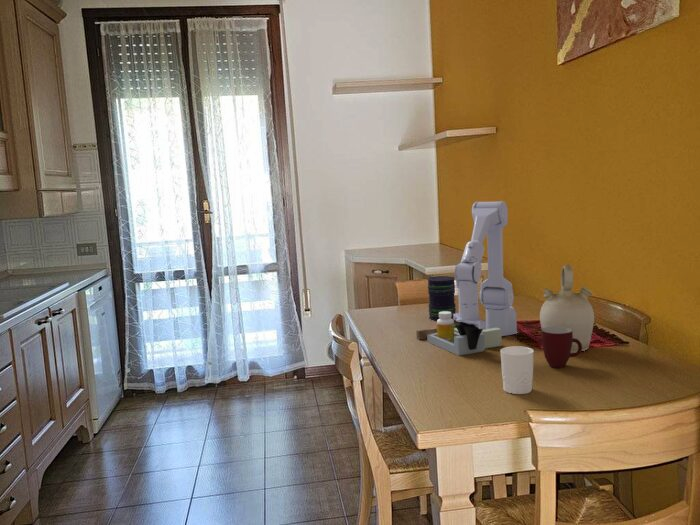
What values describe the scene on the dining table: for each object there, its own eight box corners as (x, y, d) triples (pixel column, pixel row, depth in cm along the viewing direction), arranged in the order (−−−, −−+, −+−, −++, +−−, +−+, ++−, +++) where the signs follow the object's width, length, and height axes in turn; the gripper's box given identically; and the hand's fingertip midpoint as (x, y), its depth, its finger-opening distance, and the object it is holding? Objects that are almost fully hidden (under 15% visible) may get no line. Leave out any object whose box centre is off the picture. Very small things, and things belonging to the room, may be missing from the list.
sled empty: (468, 333, 219) (467, 317, 218) (501, 345, 202) (501, 329, 201) (451, 335, 216) (451, 320, 216) (484, 348, 199) (484, 331, 199)
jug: (596, 343, 200) (596, 261, 196) (591, 356, 186) (591, 269, 182) (544, 339, 206) (543, 260, 203) (536, 353, 192) (535, 268, 189)
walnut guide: (465, 331, 222) (465, 322, 222) (503, 345, 202) (503, 336, 202) (416, 338, 215) (416, 330, 215) (451, 354, 195) (451, 345, 195)
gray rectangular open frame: (451, 337, 214) (451, 322, 213) (484, 351, 197) (484, 334, 196) (427, 341, 211) (426, 326, 210) (458, 355, 194) (458, 338, 193)
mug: (575, 360, 183) (575, 325, 182) (586, 368, 175) (586, 332, 174) (537, 362, 183) (537, 327, 182) (547, 371, 175) (546, 334, 174)
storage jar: (460, 316, 244) (459, 276, 242) (449, 322, 236) (448, 281, 234) (435, 314, 249) (434, 275, 247) (424, 320, 241) (422, 279, 239)
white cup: (496, 386, 165) (496, 347, 164) (527, 383, 166) (527, 345, 164) (507, 396, 157) (506, 355, 156) (539, 394, 158) (538, 353, 157)
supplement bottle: (454, 344, 206) (453, 314, 204) (436, 344, 207) (435, 314, 205) (455, 340, 211) (454, 310, 209) (438, 340, 212) (437, 310, 211)
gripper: (444, 300, 199) (445, 344, 201) (470, 308, 186) (471, 355, 188) (464, 297, 202) (465, 341, 204) (491, 305, 189) (492, 351, 190)
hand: (469, 347), depth 196 cm, fingers closed on gray rectangular open frame, 3 cm apart
